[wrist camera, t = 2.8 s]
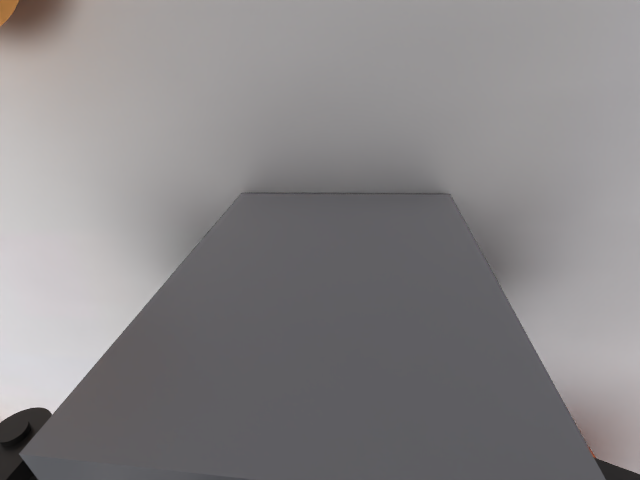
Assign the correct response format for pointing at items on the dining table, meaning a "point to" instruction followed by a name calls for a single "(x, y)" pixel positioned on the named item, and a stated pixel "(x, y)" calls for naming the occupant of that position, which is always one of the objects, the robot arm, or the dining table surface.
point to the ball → (7, 9)
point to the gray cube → (321, 359)
